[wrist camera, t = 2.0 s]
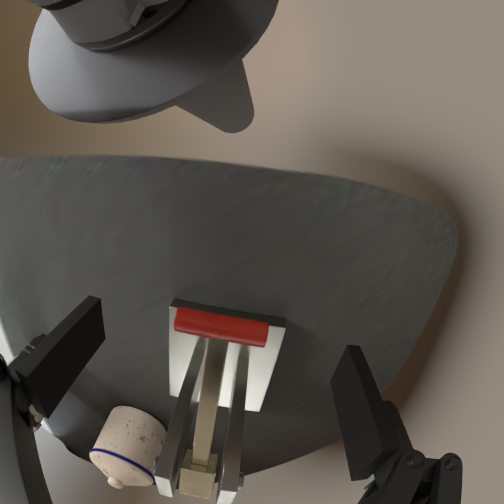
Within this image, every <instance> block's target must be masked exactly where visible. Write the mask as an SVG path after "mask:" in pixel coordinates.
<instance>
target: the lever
mask: <svg viewBox="0 0 504 504" xmlns="http://www.w3.org/2000/svg"><path fill="white" fill-rule="evenodd" d="M174 330H175V331H176V332H181V333H185V334H190V335H195V336H199V337H204V338H208V344H207V351H206V357H205V364H204V370H203V377H202V384H201V391H200V398H199V405H198V412H197V419H196V427H195V434H194V442H193V450H192V449H186V452H185V455H184V459H183V462H182V465H181V468H180V480H179V493H183V494H187V495H192V496H197V497H202V498H208V499H211V496H212V491H213V486H214V480H215V475H216V468H217V460H218V454H212V453H210V452H211V445H212V439H213V433H214V427H215V421H216V415H217V409H218V403H219V397H220V391H221V386H222V380H223V374H224V368H225V362H226V356H227V351H228V345H229V342H230V343H236V344H242V345H248V346H254V347H261V348H264V347H265V345H266V342H267V337H268V331H269V324H268V322H262V321H256V320H250V319H244V318H239V317H233V316H228V315H222V314H217V313H212V312H207V311H202V310H197V309H192V308H187V307H182V306H179V307H178V308H177V311H176V314H175V318H174Z"/></svg>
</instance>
